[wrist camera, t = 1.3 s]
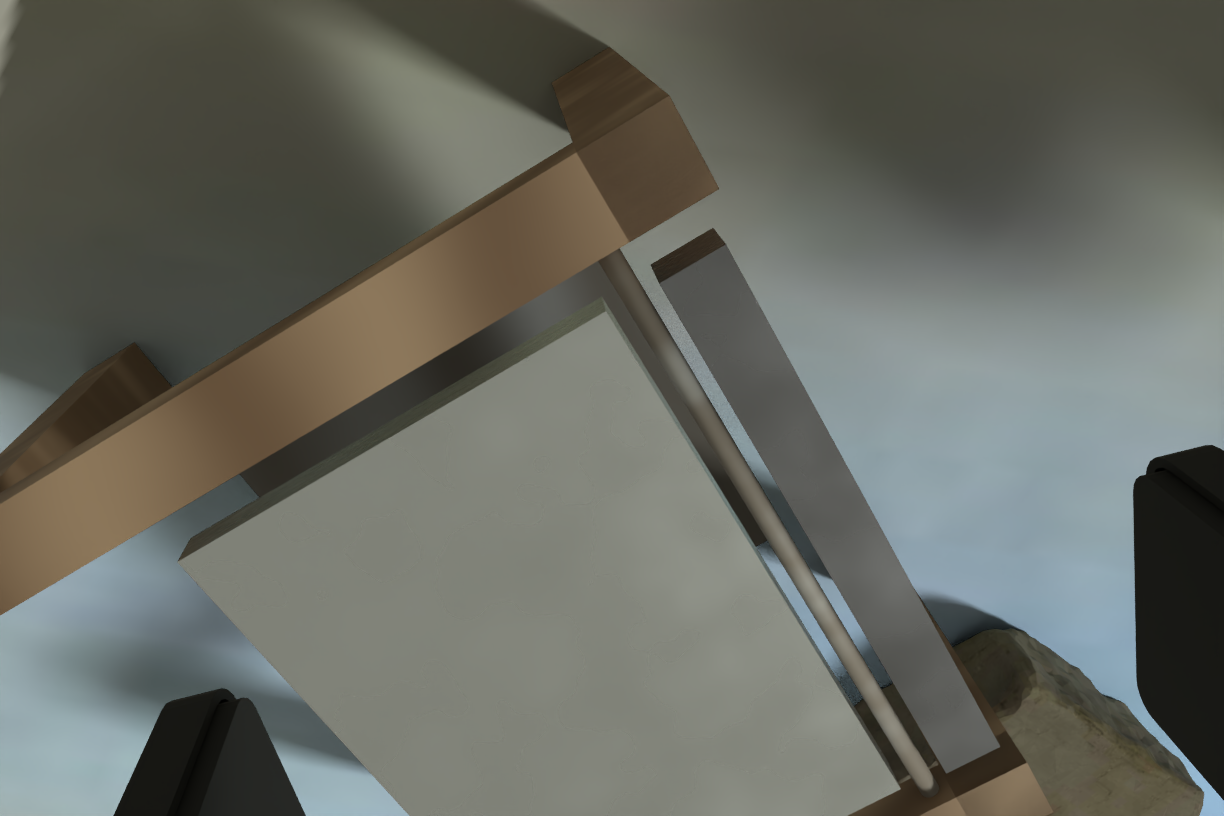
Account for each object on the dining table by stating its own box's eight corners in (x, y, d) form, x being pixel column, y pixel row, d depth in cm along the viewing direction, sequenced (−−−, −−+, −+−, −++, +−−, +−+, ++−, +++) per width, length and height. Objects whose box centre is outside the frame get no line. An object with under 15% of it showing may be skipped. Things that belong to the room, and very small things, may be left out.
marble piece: (683, 805, 43) (700, 887, 39) (934, 556, 39) (979, 619, 35) (952, 961, 48) (991, 1047, 44) (1196, 754, 44) (1261, 828, 41)
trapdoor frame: (609, 46, 31) (669, 95, 19) (891, 559, 39) (1053, 812, 27) (84, 373, 33) (-145, 592, 22) (451, 791, 41) (428, 1114, 30)
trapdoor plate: (712, 228, 21) (725, 244, 20) (977, 709, 27) (1000, 746, 26) (193, 533, 23) (174, 567, 22) (545, 926, 29) (546, 972, 28)
